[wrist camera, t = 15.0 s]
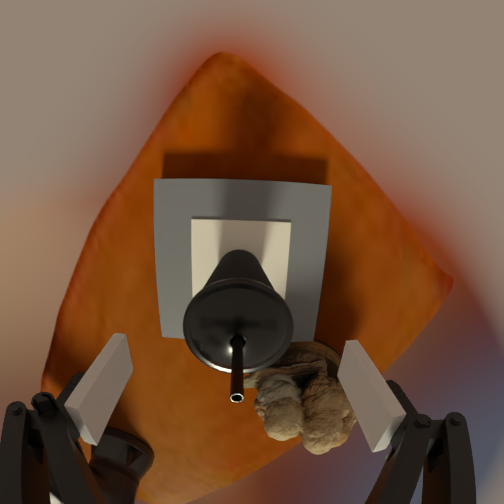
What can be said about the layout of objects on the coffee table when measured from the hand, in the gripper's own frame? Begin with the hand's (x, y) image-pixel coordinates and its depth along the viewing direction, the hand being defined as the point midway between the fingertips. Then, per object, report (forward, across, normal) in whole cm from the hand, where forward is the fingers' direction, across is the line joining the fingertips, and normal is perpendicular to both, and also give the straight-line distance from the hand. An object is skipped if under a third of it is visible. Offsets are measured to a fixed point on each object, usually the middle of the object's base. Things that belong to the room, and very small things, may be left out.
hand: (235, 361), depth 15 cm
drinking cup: (+17, 0, 0) cm, 17 cm away
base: (+20, 0, 0) cm, 20 cm away
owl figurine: (+21, -9, +17) cm, 28 cm away
